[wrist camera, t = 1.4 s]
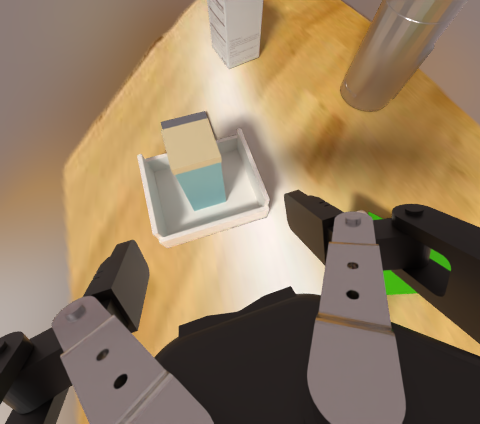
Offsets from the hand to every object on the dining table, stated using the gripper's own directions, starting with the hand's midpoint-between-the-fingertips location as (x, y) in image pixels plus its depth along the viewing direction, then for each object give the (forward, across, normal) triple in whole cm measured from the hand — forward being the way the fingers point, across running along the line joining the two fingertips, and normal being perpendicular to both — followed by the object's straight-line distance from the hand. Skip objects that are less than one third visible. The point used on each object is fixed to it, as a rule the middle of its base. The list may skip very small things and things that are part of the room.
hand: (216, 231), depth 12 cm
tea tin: (+23, 0, +5) cm, 24 cm away
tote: (+24, 0, +6) cm, 24 cm away
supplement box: (+44, -14, -15) cm, 48 cm away
